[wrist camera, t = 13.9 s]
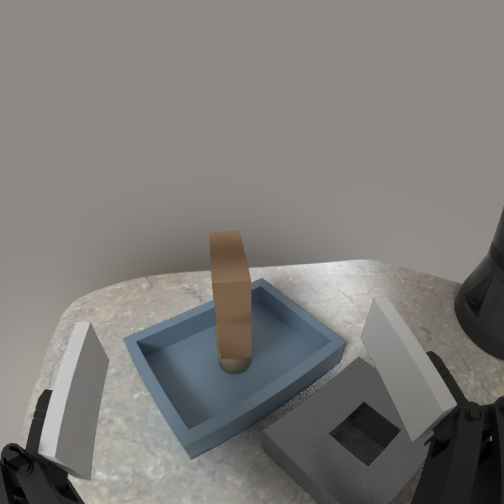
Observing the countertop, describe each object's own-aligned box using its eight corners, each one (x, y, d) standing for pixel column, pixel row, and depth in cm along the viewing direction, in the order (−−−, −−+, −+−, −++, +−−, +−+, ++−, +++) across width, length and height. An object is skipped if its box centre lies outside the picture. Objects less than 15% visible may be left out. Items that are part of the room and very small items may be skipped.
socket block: (348, 380, 23) (358, 356, 22) (429, 441, 17) (449, 422, 15) (261, 446, 18) (263, 429, 16) (350, 529, 11) (367, 525, 10)
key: (217, 338, 27) (205, 233, 21) (245, 336, 28) (243, 230, 22) (221, 390, 22) (206, 283, 16) (255, 387, 23) (256, 279, 16)
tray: (261, 298, 33) (262, 277, 32) (339, 361, 25) (347, 341, 24) (131, 358, 25) (122, 338, 24) (191, 459, 17) (183, 446, 15)
